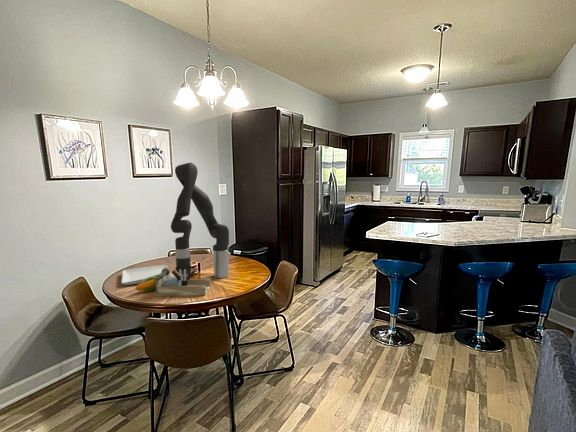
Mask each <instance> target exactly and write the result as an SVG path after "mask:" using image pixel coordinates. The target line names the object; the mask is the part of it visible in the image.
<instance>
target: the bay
mask: <svg viewBox="0 0 576 432" xmlns="http://www.w3.org/2000/svg"><path fill="white" fill-rule="evenodd" d="M170 273H171V271H170V269H169V267H168V268H164V269H163V270H162V273H160V274H159V275H158V276H156V277H155V280H156V281H155V283H156V290H155V296H156V297H174V296H176V297H177V296H179V297H181V296H187V297H188V296H189V297H190V296H206V295H207V294H208V292H209V291H210V289H211V287H212V280H211V279H212V278H190V279H189V280H187V282H188V285H187V286H182V282H181V286H165V284H164V281H165V280H166V279H167V275H169V274H170Z"/></svg>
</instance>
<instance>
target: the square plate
mask: <svg viewBox="0 0 576 432" xmlns="http://www.w3.org/2000/svg"><path fill="white" fill-rule="evenodd" d="M164 268H168V269H169V266H168V265H167V264H161V265H152V266H143V267H137V268H136V267H135V268H130V269H129V268H128V269H124V270H122V271H121V273H122V274H121V282H120V283H121V285H124V286H129V285H130V286H131V285H139V284H140V283H142V282H144V281H146V280H148V279H146V278H148V277H152V276H155V275H158V274H160V273H162V270H163V269H164ZM167 276H168V277H172V272H170V274H169V275H167ZM153 278H154V277H153ZM144 279H146V280H144ZM149 279H151V278H149Z"/></svg>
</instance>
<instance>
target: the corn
mask: <svg viewBox="0 0 576 432" xmlns="http://www.w3.org/2000/svg"><path fill="white" fill-rule="evenodd" d="M158 275H159V274H158ZM158 275H155V276H152V277H148V278H146V279H148V280H146V279H144V280H146V281H144V282H142V283H139V284H136V286H135V288H134V289H135V290H136V291H139V292H140V291H143V293H148V292H152V291H156V283H155V281H156V280H155V277H156V276H158ZM153 277H154V278H153ZM149 278H151V279H149ZM167 278H168V276H167Z"/></svg>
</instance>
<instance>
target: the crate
mask: <svg viewBox="0 0 576 432" xmlns="http://www.w3.org/2000/svg"><path fill="white" fill-rule="evenodd" d="M164 284H165V286H181V280H178V279H177V278H176V277H175V276H170V277H168V278H167V279H166V280H165V281H164Z"/></svg>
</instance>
